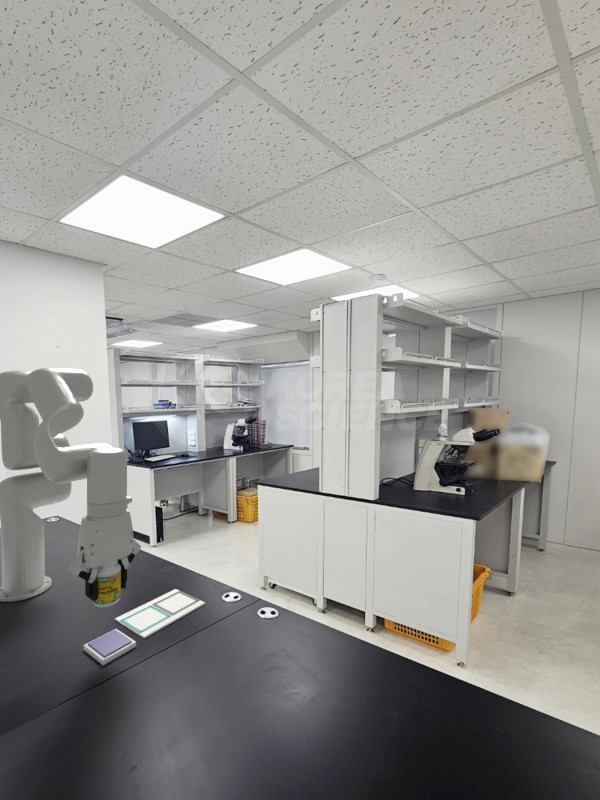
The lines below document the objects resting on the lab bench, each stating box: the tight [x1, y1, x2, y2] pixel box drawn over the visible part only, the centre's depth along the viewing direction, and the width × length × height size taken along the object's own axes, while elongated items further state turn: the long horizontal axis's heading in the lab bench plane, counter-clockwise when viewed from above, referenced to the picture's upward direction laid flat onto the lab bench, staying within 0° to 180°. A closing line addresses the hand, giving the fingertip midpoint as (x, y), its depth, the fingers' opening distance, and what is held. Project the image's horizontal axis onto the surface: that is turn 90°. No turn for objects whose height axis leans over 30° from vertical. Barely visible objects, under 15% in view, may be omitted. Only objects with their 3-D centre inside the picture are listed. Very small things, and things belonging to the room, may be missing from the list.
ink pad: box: [83, 628, 137, 666], centre depth 82 cm, size 8×7×1 cm
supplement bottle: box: [92, 560, 122, 608], centre depth 82 cm, size 5×5×10 cm
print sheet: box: [114, 588, 206, 639], centre depth 95 cm, size 12×17×1 cm
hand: (106, 591), depth 82 cm, fingers closed on supplement bottle, 5 cm apart
